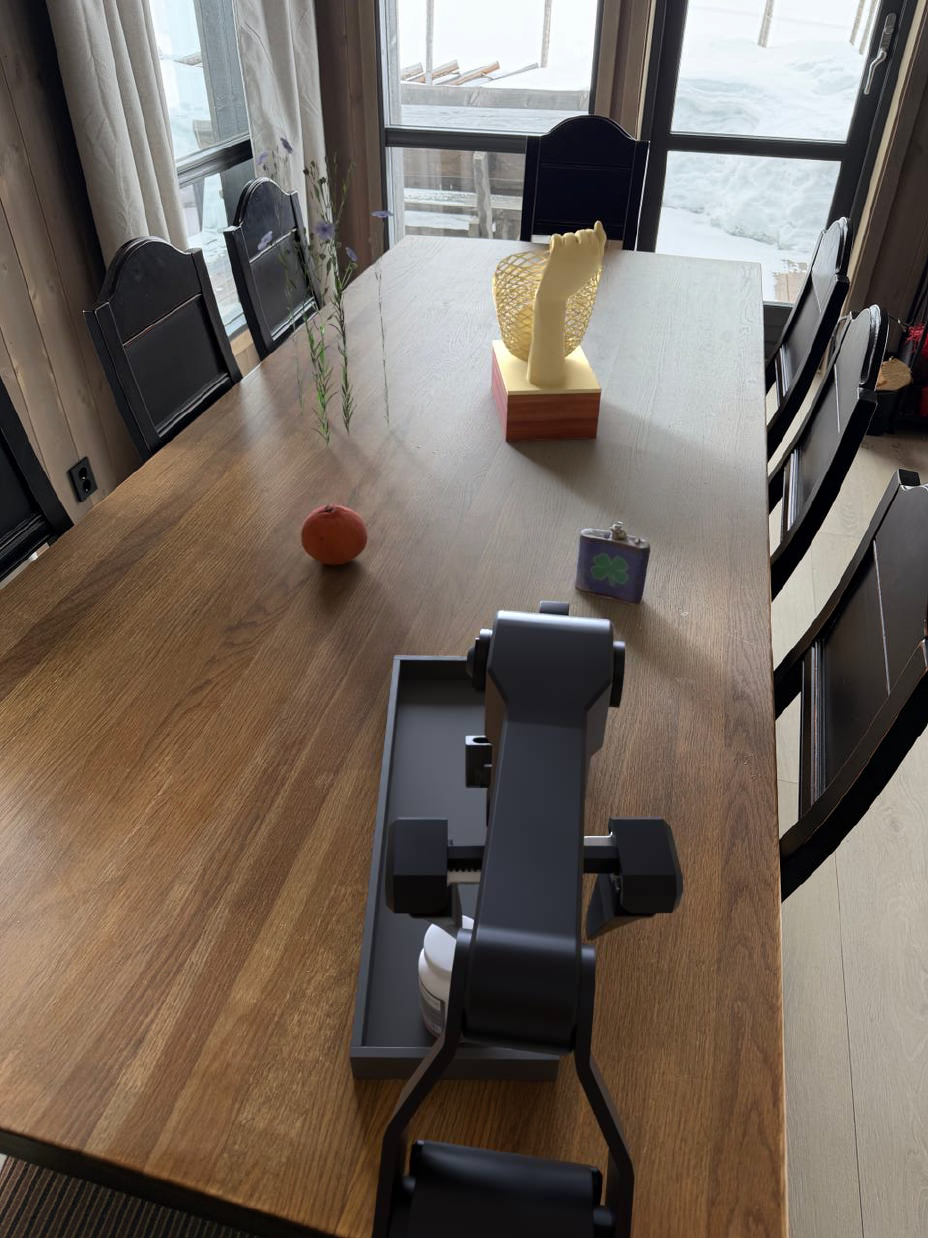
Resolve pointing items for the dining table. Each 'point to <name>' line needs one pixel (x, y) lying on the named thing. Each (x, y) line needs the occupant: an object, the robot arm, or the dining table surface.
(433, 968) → the pill bottle
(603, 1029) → the dining table surface
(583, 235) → the raised fist statue
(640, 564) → the flask
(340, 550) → the fruit
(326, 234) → the wildflower
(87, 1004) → the dining table surface
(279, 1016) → the dining table surface
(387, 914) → the black tray
